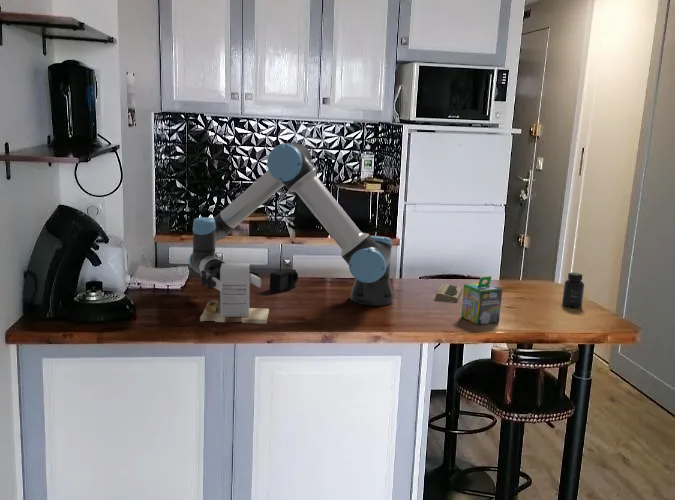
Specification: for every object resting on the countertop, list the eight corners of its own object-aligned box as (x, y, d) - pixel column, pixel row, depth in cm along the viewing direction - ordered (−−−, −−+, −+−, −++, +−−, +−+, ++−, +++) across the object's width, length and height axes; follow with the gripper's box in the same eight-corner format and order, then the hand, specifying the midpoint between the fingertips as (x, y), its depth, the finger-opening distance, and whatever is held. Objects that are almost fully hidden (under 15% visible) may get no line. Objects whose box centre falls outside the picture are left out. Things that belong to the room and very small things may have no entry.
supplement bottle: (584, 306, 236) (589, 274, 234) (577, 310, 231) (581, 277, 229) (566, 302, 240) (570, 270, 238) (558, 305, 236) (562, 273, 233)
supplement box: (221, 308, 208) (221, 262, 204) (249, 308, 209) (249, 262, 206) (219, 317, 199) (219, 269, 196) (249, 317, 200) (249, 269, 197)
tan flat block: (457, 303, 233) (458, 294, 232) (434, 301, 235) (435, 292, 235) (461, 293, 248) (462, 285, 247) (440, 290, 250) (441, 282, 249)
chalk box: (481, 314, 219) (486, 271, 217) (500, 322, 212) (504, 278, 209) (459, 317, 215) (463, 273, 212) (477, 325, 207) (482, 280, 204)
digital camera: (281, 294, 233) (282, 275, 231) (269, 291, 236) (270, 272, 234) (298, 288, 242) (298, 270, 240) (286, 286, 244) (286, 267, 243)
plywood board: (268, 312, 210) (269, 300, 210) (266, 323, 199) (266, 311, 198) (206, 309, 209) (206, 298, 209) (200, 321, 198) (200, 309, 197)
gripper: (247, 277, 224) (276, 292, 206) (178, 283, 211) (202, 300, 193) (248, 255, 222) (276, 269, 204) (178, 261, 209) (203, 276, 192)
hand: (240, 284), depth 199 cm, fingers open, 12 cm apart
